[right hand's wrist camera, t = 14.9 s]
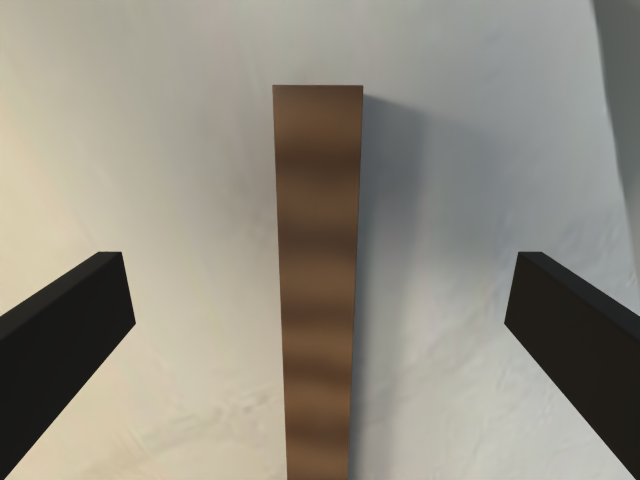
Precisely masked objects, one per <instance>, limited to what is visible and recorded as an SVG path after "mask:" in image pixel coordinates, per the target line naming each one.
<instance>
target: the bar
mask: <svg viewBox="0 0 640 480" xmlns="http://www.w3.org/2000/svg"><path fill="white" fill-rule="evenodd" d="M362 109H363V85H273V113H274V139H275V166H276V192H277V219H278V245H279V272H280V298H281V325H282V351H283V377H284V404H285V430H286V457H287V480H347V477H348V453H349V428H350V404H351V379H352V355H353V330H354V306H355V281H356V257H357V232H358V208H359V183H360V158H361V134H362Z"/></svg>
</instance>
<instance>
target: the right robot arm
mask: <svg viewBox="0 0 640 480" xmlns="http://www.w3.org/2000/svg"><path fill="white" fill-rule="evenodd" d="M135 324H136V322H135V317H134V312H133V307H132V301H131V296H130V291H129V286H128V281H127V276H126V271H125V266H124V261H123V256H122V252H97V253H96V254H94V255H93V256H91V257H90V258H88V259H87V260H85V261H84V262H82V263H81V264H79V265H78V266H76V267H75V268H73V269H72V270H70V271H69V272H67V273H66V274H64V275H62V276H61V277H59V278H58V279H56V280H55V281H53V282H52V283H50V284H49V285H47V286H46V287H44V288H43V289H41V290H40V291H38V292H37V293H35V294H34V295H32V296H31V297H29V298H28V299H26V300H25V301H23V302H22V303H20V304H19V305H17V306H16V307H14V308H12V309H11V310H9V311H8V312H6V313H5V314H3V315H2V316H0V480H4V479H5V478H6V477H7V476H8V474H9V473H10V472H11V471H12V470H13V469H14V467H15V466H16V465H17V464H18V463H19V461H20V460H21V459H22V458H23V457H24V456H25V454H26V453H27V452H28V451H29V450H30V448H31V447H32V446H33V445H34V444H35V442H36V441H37V440H38V439H39V438H40V437H41V435H42V434H43V433H44V432H45V431H46V429H47V428H48V427H49V426H50V425H51V424H52V422H53V421H54V420H55V419H56V418H57V416H58V415H59V414H60V413H61V412H62V410H63V409H64V408H65V407H66V406H67V405H68V403H69V402H70V401H71V400H72V399H73V397H74V396H75V395H76V394H77V393H78V392H79V390H80V389H81V388H82V387H83V386H84V384H85V383H86V382H87V381H88V380H89V379H90V377H91V376H92V375H93V374H94V373H95V371H96V370H97V369H98V368H99V367H100V365H101V364H102V363H103V362H104V361H105V360H106V358H107V357H108V356H109V355H110V354H111V352H112V351H113V350H114V349H115V348H116V347H117V345H118V344H119V343H120V342H121V341H122V339H123V338H124V337H125V336H126V335H127V334H128V332H129V331H130V330H131V329H132V328H133V326H134V325H135ZM504 324H505V325H506V326H507V328H508V329H509V330H510V331H511V332H512V334H513V335H514V336H515V337H516V338H517V339H518V341H519V342H520V343H521V344H522V345H523V347H524V348H525V349H526V350H527V351H528V352H529V354H530V355H531V356H532V357H533V358H534V360H535V361H536V362H537V363H538V364H539V365H540V367H541V368H542V369H543V370H544V371H545V373H546V374H547V375H548V376H549V377H550V379H551V380H552V381H553V382H554V383H555V384H556V386H557V387H558V388H559V389H560V390H561V392H562V393H563V394H564V395H565V396H566V397H567V399H568V400H569V401H570V402H571V403H572V405H573V406H574V407H575V408H576V409H577V411H578V412H579V413H580V414H581V415H582V416H583V418H584V419H585V420H586V421H587V422H588V424H589V425H590V426H591V427H592V428H593V429H594V431H595V432H596V433H597V434H598V435H599V437H600V438H601V439H602V440H603V441H604V442H605V444H606V445H607V446H608V447H609V448H610V450H611V451H612V452H613V453H614V454H615V456H616V457H617V458H618V459H619V460H620V461H621V463H622V464H623V465H624V466H625V467H626V469H627V470H628V471H629V472H630V473H631V474H632V476H633V477H634V478H635V479H636V480H640V316H638V315H637V314H635V313H634V312H632V311H631V310H629V309H628V308H626V307H624V306H623V305H621V304H620V303H618V302H617V301H615V300H614V299H612V298H611V297H609V296H608V295H606V294H605V293H603V292H602V291H600V290H599V289H597V288H596V287H594V286H593V285H591V284H590V283H588V282H587V281H585V280H584V279H582V278H581V277H579V276H578V275H576V274H574V273H573V272H571V271H570V270H568V269H567V268H565V267H564V266H562V265H561V264H559V263H558V262H556V261H555V260H553V259H552V258H550V257H549V256H547V255H546V254H544V253H543V252H518V256H517V261H516V266H515V271H514V276H513V281H512V286H511V291H510V296H509V301H508V307H507V312H506V317H505V322H504Z"/></svg>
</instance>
